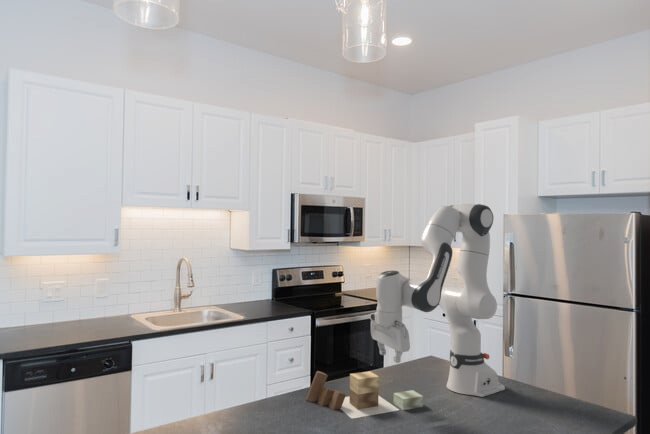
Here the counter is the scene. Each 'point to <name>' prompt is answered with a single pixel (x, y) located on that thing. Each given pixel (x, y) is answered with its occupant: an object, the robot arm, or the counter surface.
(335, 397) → the wooden block set
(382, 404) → the baseplate
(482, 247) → the robot arm
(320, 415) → the counter surface
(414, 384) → the counter surface
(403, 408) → the sage brick
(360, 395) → the walnut base brick
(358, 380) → the oak brick
